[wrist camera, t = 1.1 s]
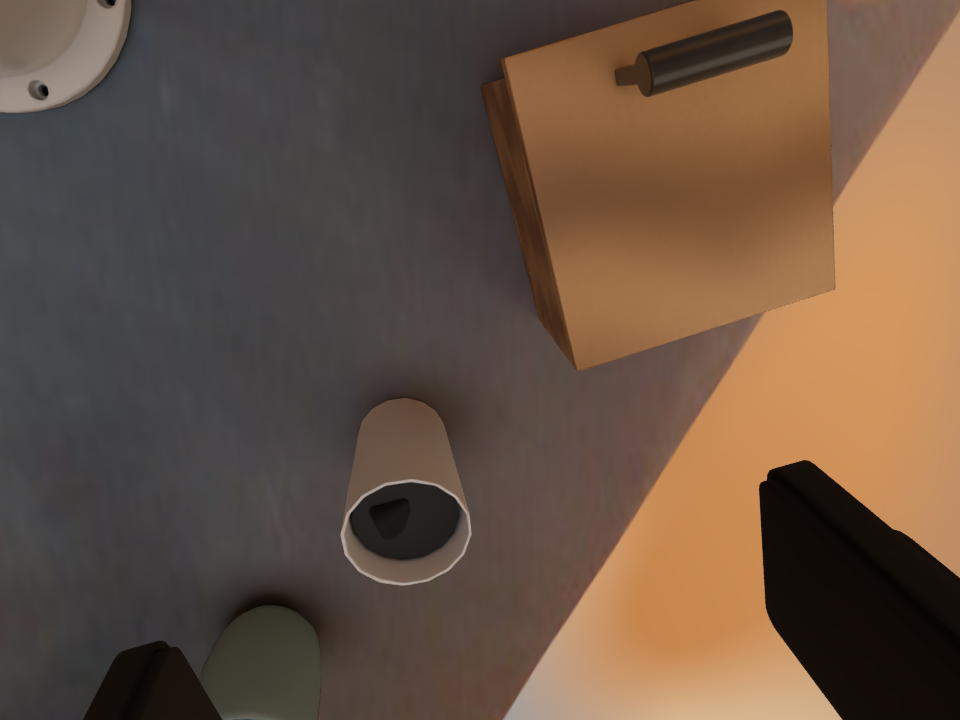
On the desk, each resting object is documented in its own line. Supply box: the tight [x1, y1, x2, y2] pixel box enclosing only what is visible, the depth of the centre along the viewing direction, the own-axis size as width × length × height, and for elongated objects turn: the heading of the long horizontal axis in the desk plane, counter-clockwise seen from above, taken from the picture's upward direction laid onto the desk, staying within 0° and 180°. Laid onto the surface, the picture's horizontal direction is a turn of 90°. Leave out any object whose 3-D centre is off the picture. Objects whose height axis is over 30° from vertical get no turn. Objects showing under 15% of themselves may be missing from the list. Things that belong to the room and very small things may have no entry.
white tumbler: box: [341, 398, 471, 586], centre depth 36 cm, size 7×7×10 cm
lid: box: [501, 0, 835, 371], centre depth 26 cm, size 15×14×5 cm
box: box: [481, 78, 572, 364], centre depth 32 cm, size 14×14×7 cm
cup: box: [198, 605, 322, 720], centre depth 40 cm, size 8×8×10 cm
